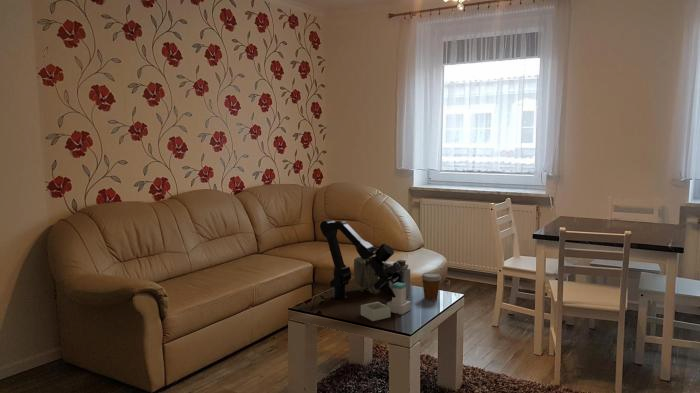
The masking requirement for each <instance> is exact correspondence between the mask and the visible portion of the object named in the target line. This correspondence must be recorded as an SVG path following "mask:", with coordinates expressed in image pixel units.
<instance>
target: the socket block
mask: <svg viewBox="0 0 700 393" xmlns="http://www.w3.org/2000/svg"><path fill="white" fill-rule="evenodd" d="M391 313H392V312H391V307H389V306H387V304H384V303H382V302H380V301H375V302H370V303H365V304H361V305H360V316H362V317H364V318H365V319H368V320H370V321H371V322H374V321H375V322H376V321H379V320H384V319H388V318H391V316H392V315H391Z"/></svg>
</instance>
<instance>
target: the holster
mask: <svg viewBox="0 0 700 393" xmlns="http://www.w3.org/2000/svg"><path fill="white" fill-rule="evenodd" d="M386 305H387V306H389V307H391V313H393V314H397V313H398V315H402V314H403V315H404V314H406V313H408V312H409V311H411V310H412V301H410V300H406V303H404V304H402V305H399V304H395V303H392V299H391V300H389V301H388V302H386Z"/></svg>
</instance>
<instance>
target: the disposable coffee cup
mask: <svg viewBox="0 0 700 393" xmlns="http://www.w3.org/2000/svg"><path fill="white" fill-rule="evenodd" d="M421 280H422V288H423V296H424V299H425V300H428V301H436V300H438V296H439V290H440V283H441V280H442V277H441V274H440V273H437V272H424V273H422V275H421Z"/></svg>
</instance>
